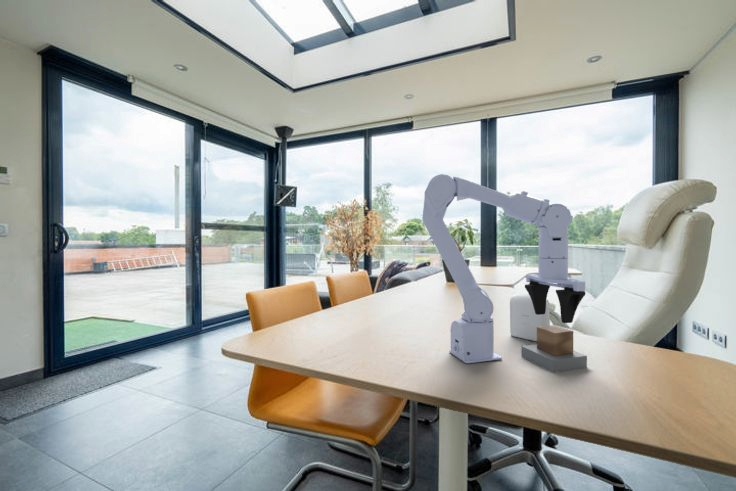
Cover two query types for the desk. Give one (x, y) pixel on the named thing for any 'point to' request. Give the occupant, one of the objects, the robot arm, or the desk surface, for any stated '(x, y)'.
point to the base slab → (553, 359)
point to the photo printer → (526, 317)
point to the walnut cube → (555, 340)
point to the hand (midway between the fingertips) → (552, 318)
